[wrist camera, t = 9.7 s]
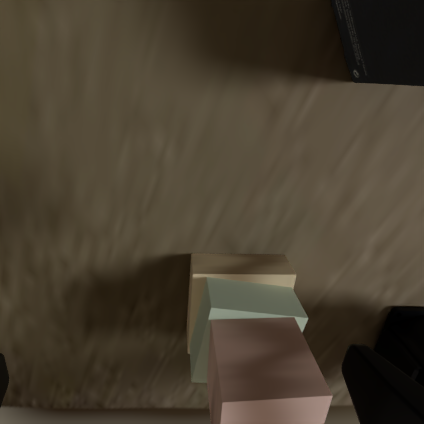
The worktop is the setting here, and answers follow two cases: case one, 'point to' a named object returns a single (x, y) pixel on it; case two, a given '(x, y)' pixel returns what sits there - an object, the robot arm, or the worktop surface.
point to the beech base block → (234, 275)
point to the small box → (382, 40)
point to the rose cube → (264, 374)
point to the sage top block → (237, 313)
